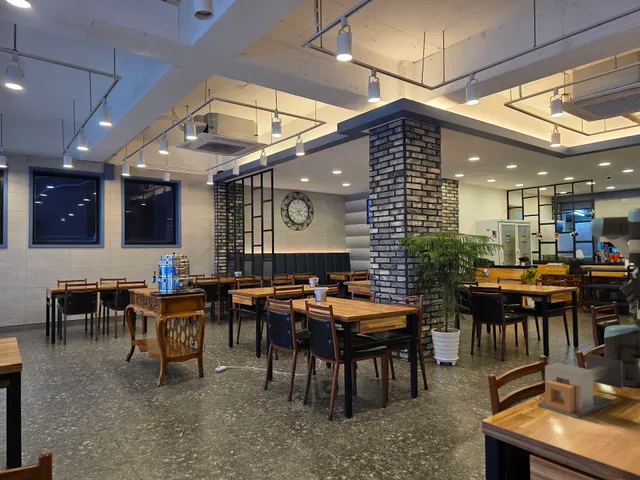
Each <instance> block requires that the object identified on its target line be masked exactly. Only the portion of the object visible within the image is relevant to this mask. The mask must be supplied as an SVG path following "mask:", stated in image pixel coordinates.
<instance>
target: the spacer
mask: <svg viewBox="0 0 640 480" xmlns="http://www.w3.org/2000/svg"><path fill="white" fill-rule="evenodd" d="M544 384H545V385H544V387H545V389H544V390H545V391H544V392H545V393H544V397H545V398H544V401H545V405H546V406H550V407H553V408H556V409H560V410H563V411H566V412H569V413H570V412H573V411H574V386H571V385H567V384H563V383H559V382H555V381H551V380H549V381H546V382H545V381H544ZM555 390H558V391H562V392H564V402H561V401H558V400H555Z"/></svg>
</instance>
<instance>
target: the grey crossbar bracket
mask: <svg viewBox="0 0 640 480" xmlns="http://www.w3.org/2000/svg"><path fill="white" fill-rule="evenodd" d="M585 369H588V370H593V383H596V384H601V385H606V386H610V387H614V388H618V389H623V388H624V386H623V361H621V360H616V359H611V358H606V357H605V356H600V355H595V354H590V353H586V354H585ZM564 384H567V385H569V380H567V379H564Z"/></svg>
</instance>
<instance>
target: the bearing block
mask: <svg viewBox="0 0 640 480" xmlns="http://www.w3.org/2000/svg"><path fill="white" fill-rule="evenodd" d="M544 373H545V374H544V383H545V382H546V381H549V380H551V381H555V382H559V383H563V384H564V379H567V380H569V385H571V386H574V411H573V412H570V413H569V412H566V411H563V410H560V409H556V408H553V407H550V406H546V405H545V400H542V401H540V402H537V407H540V408H543V409H546V410H549V411H552V412H555V413H559V414H561V415H565V416H568V417H571V418H575V419H580V418H583V417H584V416H587V415H588V414H589V415H590V414H591V413H593V412H595V411H598V410H600V409H603V408H604V407H607V406H609V405H612V404H614V399H611V398H607V397H604V396H599V395H595V394H594V382H593V370H588V369H586V368H583V367H579V366H574V365H569V364H564V363H560V362H555V363H551V364H547V365H544ZM555 400H558V401H561V402H564V392H562V391H558V390H555Z"/></svg>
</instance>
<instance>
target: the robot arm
mask: <svg viewBox="0 0 640 480" xmlns="http://www.w3.org/2000/svg"><path fill="white" fill-rule="evenodd" d="M589 229H590V235H592V237H597V238H598V237H599V238H601V237H603V238H605V239H606V240H607V241H608V242H609V243H611V244H612V245H613V246H614V247H615V248H617V251H618V254H619V255H620V256H621V257H623V258H624V259H626V260H628V263H630V264H634V265H633V268H632V269H633V270H632V271H630V272H629V276H630V280H631V281H630V282H631V287H632V295H633V300H634V301H636V316H637V317H636V320H640V207H638V208H631V209H630V210H628V215H627V216H610V217H609V216H608V217H607V216H605V217H602V216H601V217H595V218H593V219H592V220H591V221H590V224H589ZM603 338H604V339H603V340H604V342H603V343H604V357H606V358H611V359H616V360H621V361H623V387H630V386H632V387H633V388H638V387H637V386H640V361H639V360H640V328H639V326H638V325H633V324H615V325H609V326H606V327H605V329H604V336H603Z"/></svg>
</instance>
